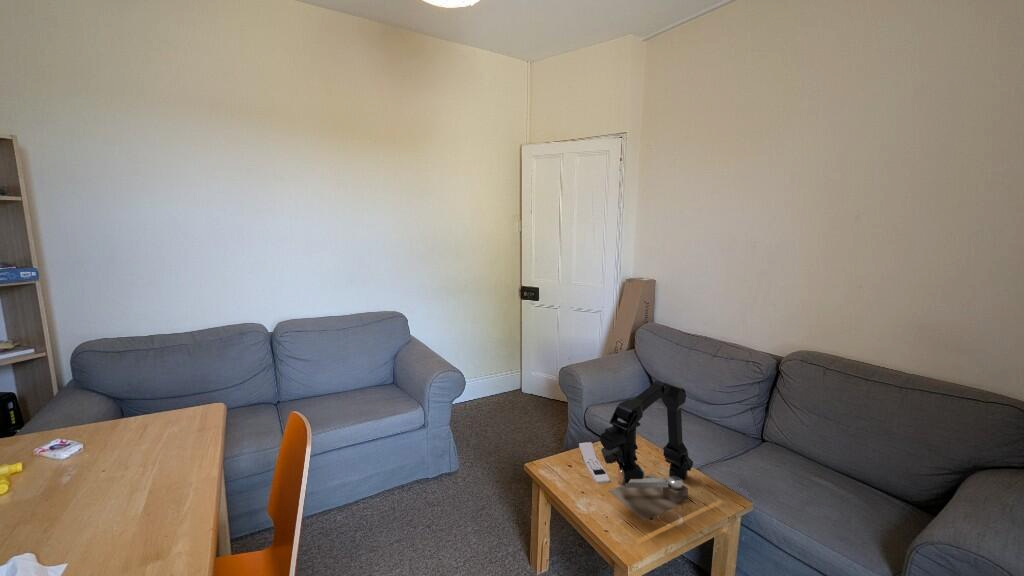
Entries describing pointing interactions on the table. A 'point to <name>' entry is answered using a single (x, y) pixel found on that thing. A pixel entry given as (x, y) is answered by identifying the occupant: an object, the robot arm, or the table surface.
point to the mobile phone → (593, 463)
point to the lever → (650, 482)
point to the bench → (650, 499)
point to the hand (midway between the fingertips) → (626, 482)
